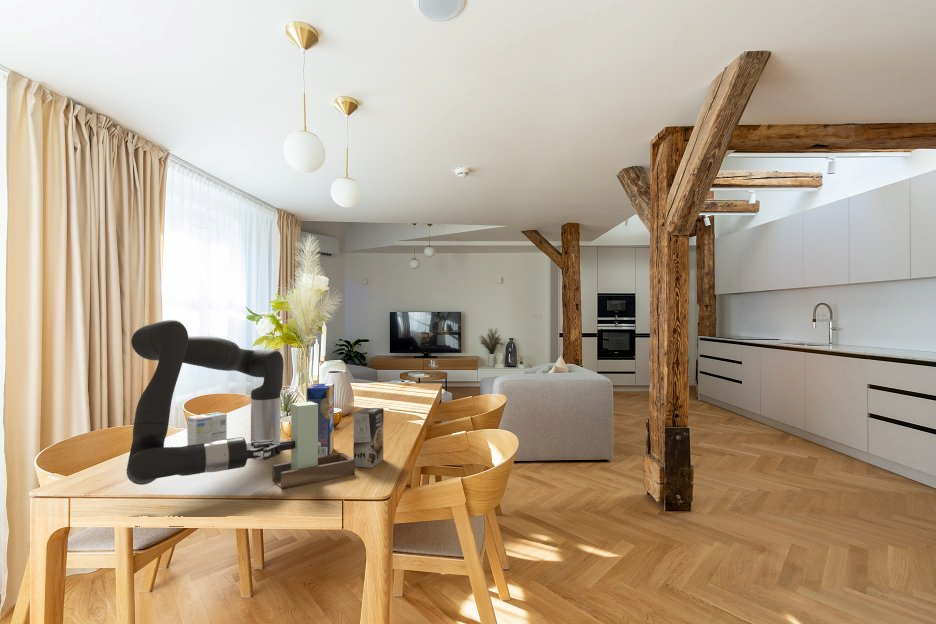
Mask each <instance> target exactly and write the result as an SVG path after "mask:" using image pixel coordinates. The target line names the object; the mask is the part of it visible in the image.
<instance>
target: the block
mask: <svg viewBox="0 0 936 624" xmlns="http://www.w3.org/2000/svg"><path fill="white" fill-rule="evenodd" d="M290 405H291V406H290V407H291V408H290V409H291V410H290V414H291V416H290V425H291V426H290V429H291V430H290V432H291V433H290V440H294V441H295V448H294V449H290V462H291V470H297V469H302V468H308V467H313V466H318V404H316V403H314V402H311V401H310V402H307V401H303V402H293V403H291V404H290Z"/></svg>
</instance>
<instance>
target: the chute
mask: <svg viewBox="0 0 936 624" xmlns="http://www.w3.org/2000/svg"><path fill="white" fill-rule="evenodd" d="M355 467H356V466H355V460H354V459H353V458H352V457H350V456H348V455H346V454H345V453H343V452H339V453H335V454H331V455H327V456H322V457H318V466H313V467H308V468H302V469H297V470H291V461H289V462H282V463H276V464H272V465H271V480H272V481H273V482H274V483H275V484H276V485H277V486H278V487H279V488H280V489H281V490H283V489H285V490H286V489H289V488H294V487H300V486H305V485H309V484H314V483H319V482H323V481H328V480H334V479H339V478H342V477H349V476H352V475H355V472H356V470H355V469H356V468H355Z"/></svg>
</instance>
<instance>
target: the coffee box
mask: <svg viewBox="0 0 936 624" xmlns="http://www.w3.org/2000/svg"><path fill="white" fill-rule="evenodd" d="M384 420H385V419H384V407H365V408H362V409H358V410H357V411H355V412H353V451H352V453H353V458H352V459H354V460H355V467H360V468H369V469H371V468H374V467H375V466H376V465H377V464H379V463H380V462H382V461H383V460H384V423H385V422H384Z"/></svg>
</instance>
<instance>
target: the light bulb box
mask: <svg viewBox="0 0 936 624" xmlns="http://www.w3.org/2000/svg"><path fill="white" fill-rule="evenodd" d="M227 416H228V415H227V413H224V412H219V411H215V412H210V413H205V414H204V413H203V414H197V415H191V416H187V418H186V420H187V429H186V430H187V436H186V437H187V446H188V445H195V444H202V443H207V442H211V441H216V440H224V439H228V438H227V437H228V435H227V434H228V433H227V430H228V426H227V425H228V423H227V422H228V421H227V418H228V417H227Z"/></svg>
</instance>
